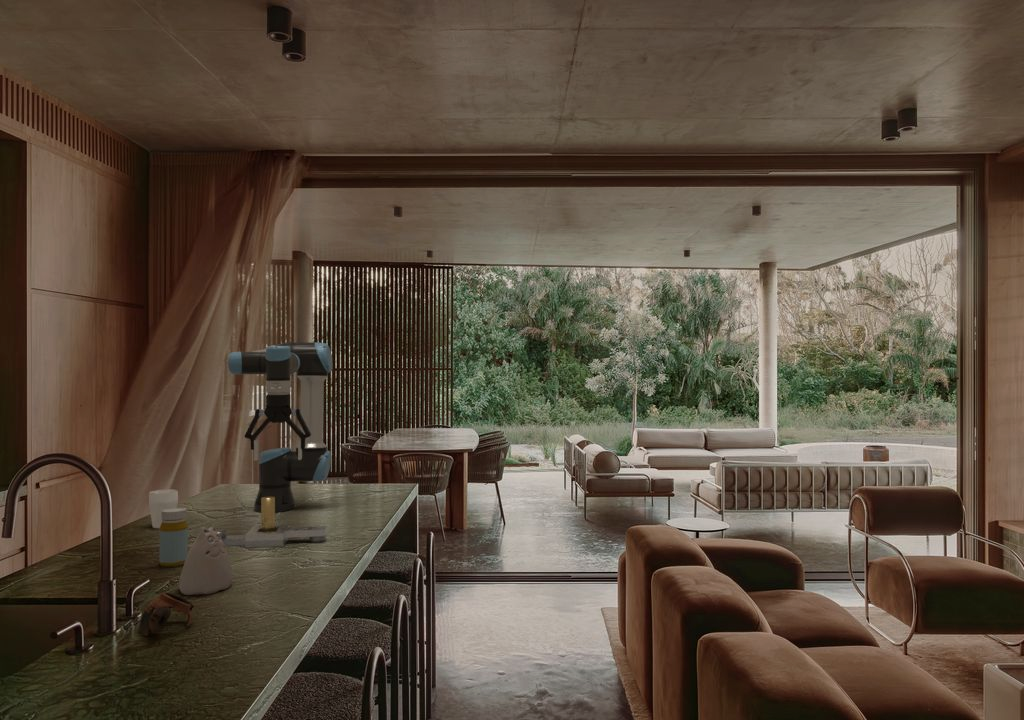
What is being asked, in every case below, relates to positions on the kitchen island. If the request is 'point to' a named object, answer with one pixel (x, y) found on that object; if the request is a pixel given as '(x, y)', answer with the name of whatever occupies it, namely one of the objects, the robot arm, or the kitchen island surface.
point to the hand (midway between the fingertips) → (278, 459)
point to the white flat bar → (273, 536)
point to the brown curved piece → (163, 612)
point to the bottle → (173, 537)
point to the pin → (268, 514)
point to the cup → (161, 504)
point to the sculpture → (206, 565)
